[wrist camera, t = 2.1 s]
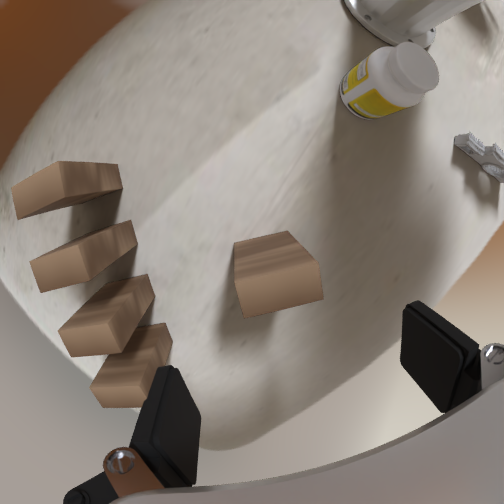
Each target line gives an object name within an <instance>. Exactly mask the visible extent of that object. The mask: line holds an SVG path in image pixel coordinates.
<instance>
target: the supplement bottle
mask: <svg viewBox="0 0 504 504" xmlns="http://www.w3.org/2000/svg"><path fill="white" fill-rule="evenodd" d="M438 82H439V72H438V68H437V66H436V63H435V61H434V60H433V58H432V57H431V56H430V54H429V53H428V52H427V51H426V50H425V49H424V48H422V47H421V46H419V45H417V44H415V43H412V42H403V43H401V44H399V45H397V46H396V47H390V46H386V47H381V48H379V49H377V50H375V51H374V52H372V53H371V54H370V55H369V56H368V57H366V58H365V59H364V60H363V61H361V62H360V63H359V64H358V65H356V66H355V67H354V68H353V69H352V70H350V71H349V72H348V73H347V74H346V75H345V76H344V77H343V79H342V81H341V84H340V95H341V98H342V100H343V102H344V104H345V106H346V107H347V108H348V109H349V110H350V111H351V112H352V113H353V114H354V115H356V116H358V117H360V118H363V119H368V120H371V119H377V118H380V117H383V116H386V115H389V114H391V113H394V112H397V111H400V110H403V109H405V108H408V107H411V106H414V105H416V104H417V103H419V102H420V101H421V100H422V99H423V97H424V95H425V93H426V92H428V91H430V90H433V89H434V88H435V87H436V86H437V85H438Z"/></svg>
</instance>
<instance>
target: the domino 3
mask: <svg viewBox="0 0 504 504" xmlns="http://www.w3.org/2000/svg"><path fill="white" fill-rule="evenodd" d="M154 297H155V294H154V291H153V288H152V286H151V283H150V280H149V277H148V274H145V275H141V276H137V277H132V278H128V279H124V280H119V281H115V282H111V283H107V284H105V285H104V286H103V287H102V288H101V289H100V290H99V291H98V292H97V293H96V294H95V295H93V296H92V297H91V298H90V299H89V300H88V301H87V302H86V303H85V304H84V305H83V306H82V307H81V308H80V309H79V310H78V311H77V312H76V313H75V314H74V315H73V316H72V317H71V318H70V319H69V320H68V321H67V322H66V323H65V324H64V325H63V326H62V327H61V328H60V329H59V330H58V333H59V335H60V337H61V339H62V341H63V343H64V345H65V347H66V348H67V350H68V352H69V354H70V356H71V357H82V356H94V355H104V354H114V353H122V351H123V349H124V348H125V346H126V344H127V342H128V341H129V339H130V337H131V335H132V334H133V332H134V330H135V329H136V327H137V325H138V324H139V322H140V320H141V318H142V317H143V315H144V313H145V312H146V310H147V309H148V307H149V305H150V304H151V302H152V300H153V299H154Z"/></svg>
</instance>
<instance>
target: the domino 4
mask: <svg viewBox="0 0 504 504" xmlns="http://www.w3.org/2000/svg"><path fill="white" fill-rule="evenodd" d="M172 342H173V341H172V338H171V336H170V333H169V331H168V328H167V326H166V323H160V324H154V325H148V326H142V327H136V329H135V330H134V332H133V334H132V335H131V337H130V339H129V341H128V342H127V344H126V346H125V348H124V349H123V351H122V353H114V354H109V355H108V357H107V359H106V360H105V362H104V363H103V365H102V367H101V368H100V370H99V372H98V373H97V375H96V377H95V379H94V380H93V382H92V384H91V385H90V387H89V388H90V389H91V391H92V392H93V394H94V395H95V397H96V398H97V400H98V401H99V403H100V404H101V406H102V407H103V408H136V407H142V405H143V402H144V400H146V399H147V396H148V393H149V390H150V387H151V384H152V382H153V379H154V376H155V373H156V370H157V368H158V367H161V366H165V364H166V361H167V357H168V354H169V351H170V348H171V345H172Z"/></svg>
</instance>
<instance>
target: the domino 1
mask: <svg viewBox="0 0 504 504" xmlns="http://www.w3.org/2000/svg"><path fill="white" fill-rule="evenodd" d="M122 188H123V186H122V182H121V178H120V173H119V169H118V164H107V163H92V162H71V161H57V162H55V163H53V164H51V165H50V166H48V167H46V168H44V169H42V170H40V171H39V172H37V173H35V174H33V175H32V176H30V177H28V178H26V179H25V180H23V181H21V182H20V183H18V184H16V185H15V186H13V187H12V188H11V190H12V195H13V201H14V206H15V210H16V215H17V219H18V220H19V219H23V218H26V217H30V216H34V215H37V214H41V213H45V212H49V211H52V210H56V209H60V208H65V207H69V206H73V205H77V204H82V203H84V202H87V201H89V200H92V199H95V198H97V197H100V196H103V195H105V194H108V193H111V192H114V191H117V190H120V189H122Z"/></svg>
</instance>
